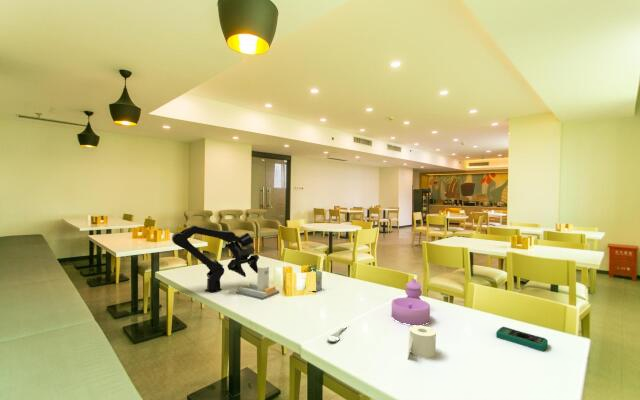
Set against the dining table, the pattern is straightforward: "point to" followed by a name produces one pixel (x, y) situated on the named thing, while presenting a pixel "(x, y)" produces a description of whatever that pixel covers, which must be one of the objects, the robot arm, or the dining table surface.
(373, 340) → the dining table surface
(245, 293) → the rail mount
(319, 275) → the ink box
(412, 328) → the toilet paper
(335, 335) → the spoon
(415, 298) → the container set
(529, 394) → the dining table surface
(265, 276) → the rail module
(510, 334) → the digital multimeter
